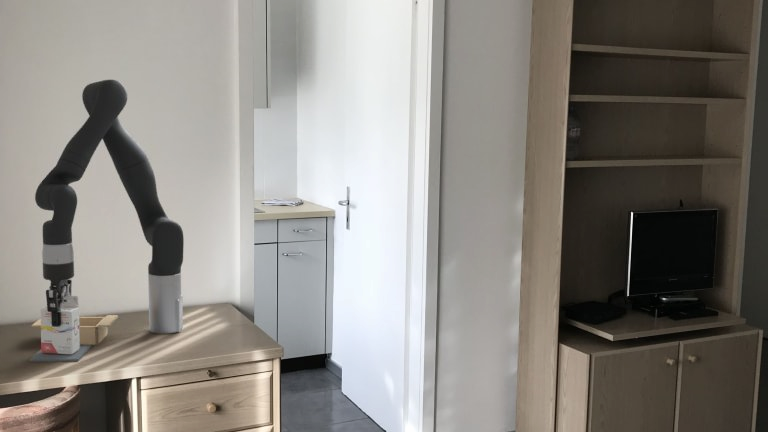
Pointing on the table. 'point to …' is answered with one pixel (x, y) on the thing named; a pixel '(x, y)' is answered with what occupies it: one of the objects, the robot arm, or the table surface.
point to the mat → (60, 355)
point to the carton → (91, 328)
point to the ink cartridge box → (61, 329)
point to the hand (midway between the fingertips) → (60, 322)
